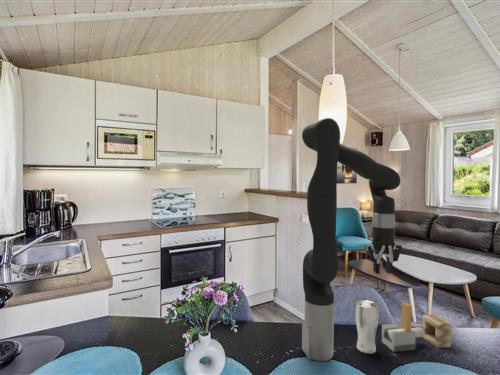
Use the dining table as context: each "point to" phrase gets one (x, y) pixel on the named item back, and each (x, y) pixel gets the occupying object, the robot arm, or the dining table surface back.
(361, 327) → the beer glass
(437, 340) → the socket
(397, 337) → the gray u-shaped block
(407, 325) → the hammer
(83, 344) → the dining table surface
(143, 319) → the dining table surface
